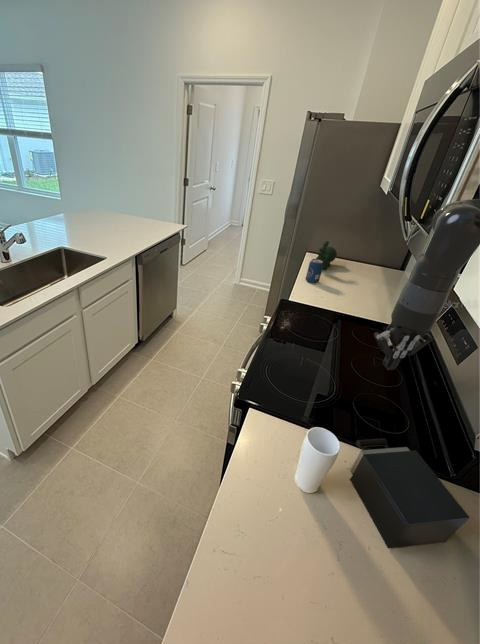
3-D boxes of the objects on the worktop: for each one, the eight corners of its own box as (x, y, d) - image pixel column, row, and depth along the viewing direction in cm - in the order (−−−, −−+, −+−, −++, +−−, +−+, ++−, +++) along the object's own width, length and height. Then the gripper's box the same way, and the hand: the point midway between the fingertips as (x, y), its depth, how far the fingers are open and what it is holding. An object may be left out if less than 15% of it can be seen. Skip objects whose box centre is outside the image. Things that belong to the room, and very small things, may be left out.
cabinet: (349, 479, 71) (363, 454, 67) (399, 475, 73) (415, 450, 68) (388, 548, 60) (407, 524, 55) (445, 542, 61) (470, 517, 56)
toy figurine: (324, 277, 175) (337, 261, 192) (332, 246, 165) (345, 232, 181) (308, 272, 180) (321, 257, 197) (315, 242, 170) (329, 229, 186)
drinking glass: (304, 502, 66) (322, 460, 59) (284, 474, 72) (299, 432, 64) (328, 490, 69) (348, 449, 61) (307, 464, 74) (323, 422, 67)
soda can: (302, 279, 168) (307, 258, 162) (313, 278, 169) (319, 258, 163) (309, 284, 162) (315, 263, 156) (321, 284, 164) (327, 263, 158)
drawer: (341, 455, 76) (350, 434, 72) (383, 452, 77) (395, 431, 73) (383, 531, 62) (398, 510, 58) (434, 525, 63) (453, 505, 59)
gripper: (402, 313, 59) (371, 380, 68) (464, 312, 60) (426, 377, 69) (378, 295, 65) (353, 358, 74) (434, 294, 67) (403, 356, 76)
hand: (388, 367), depth 72 cm, fingers closed
